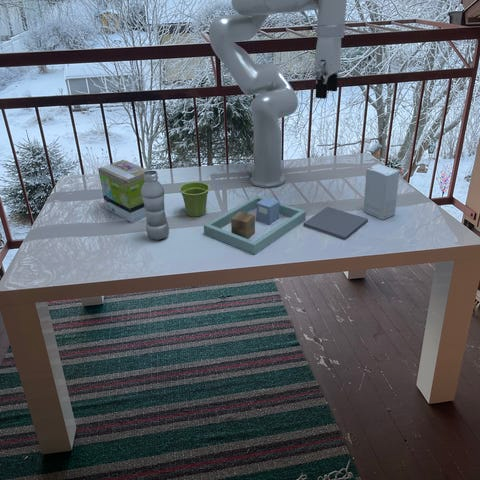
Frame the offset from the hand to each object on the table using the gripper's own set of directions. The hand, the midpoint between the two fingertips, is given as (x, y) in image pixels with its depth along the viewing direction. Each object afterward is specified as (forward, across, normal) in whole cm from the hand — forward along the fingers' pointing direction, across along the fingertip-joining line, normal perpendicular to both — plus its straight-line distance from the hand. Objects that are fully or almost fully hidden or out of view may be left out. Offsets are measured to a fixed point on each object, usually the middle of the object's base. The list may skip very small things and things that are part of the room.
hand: (326, 94), depth 139 cm
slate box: (+35, +20, -10) cm, 41 cm away
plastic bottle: (+35, +43, -34) cm, 65 cm away
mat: (+35, +14, +10) cm, 38 cm away
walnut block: (+35, +31, -12) cm, 48 cm away
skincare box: (+35, +1, +20) cm, 40 cm away
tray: (+34, +26, -11) cm, 44 cm away
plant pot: (+35, +25, -32) cm, 54 cm away
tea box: (+35, +33, -53) cm, 71 cm away
